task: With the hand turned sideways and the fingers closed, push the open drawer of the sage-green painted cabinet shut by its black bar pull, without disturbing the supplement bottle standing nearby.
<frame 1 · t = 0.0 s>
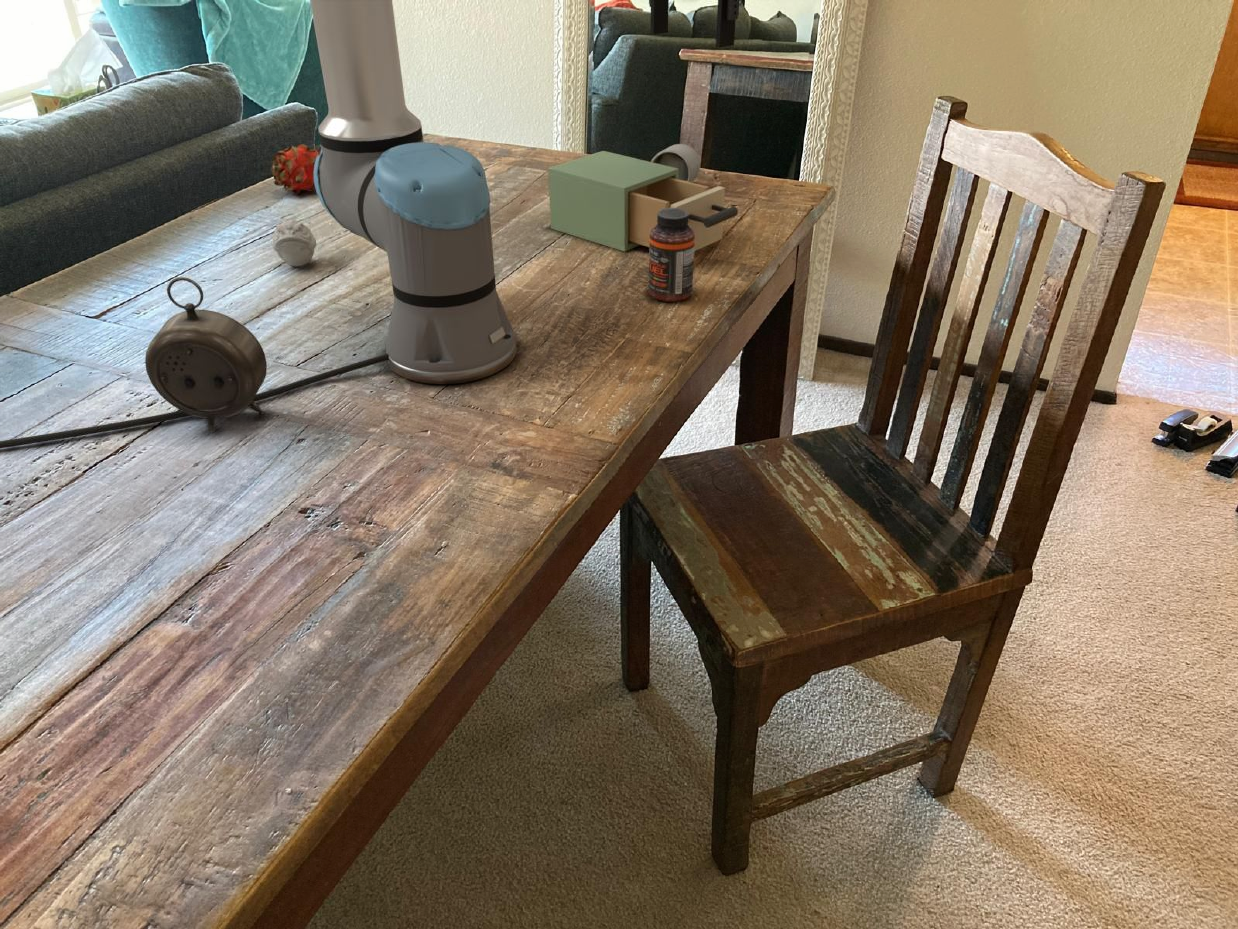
hand: (690, 39, 129), 28 cm above the table, tool pointing down, fingers open, 13 cm apart
drawer: (673, 215, 138), point 5 cm above the table, slide at 8.0 cm
cabinet: (613, 229, 147), on the table
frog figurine: (299, 267, 135), on the table
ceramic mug: (667, 190, 164), on the table
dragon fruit: (304, 190, 165), on the table
alarm clock: (221, 423, 98), on the table
supplement bottle: (670, 295, 125), on the table
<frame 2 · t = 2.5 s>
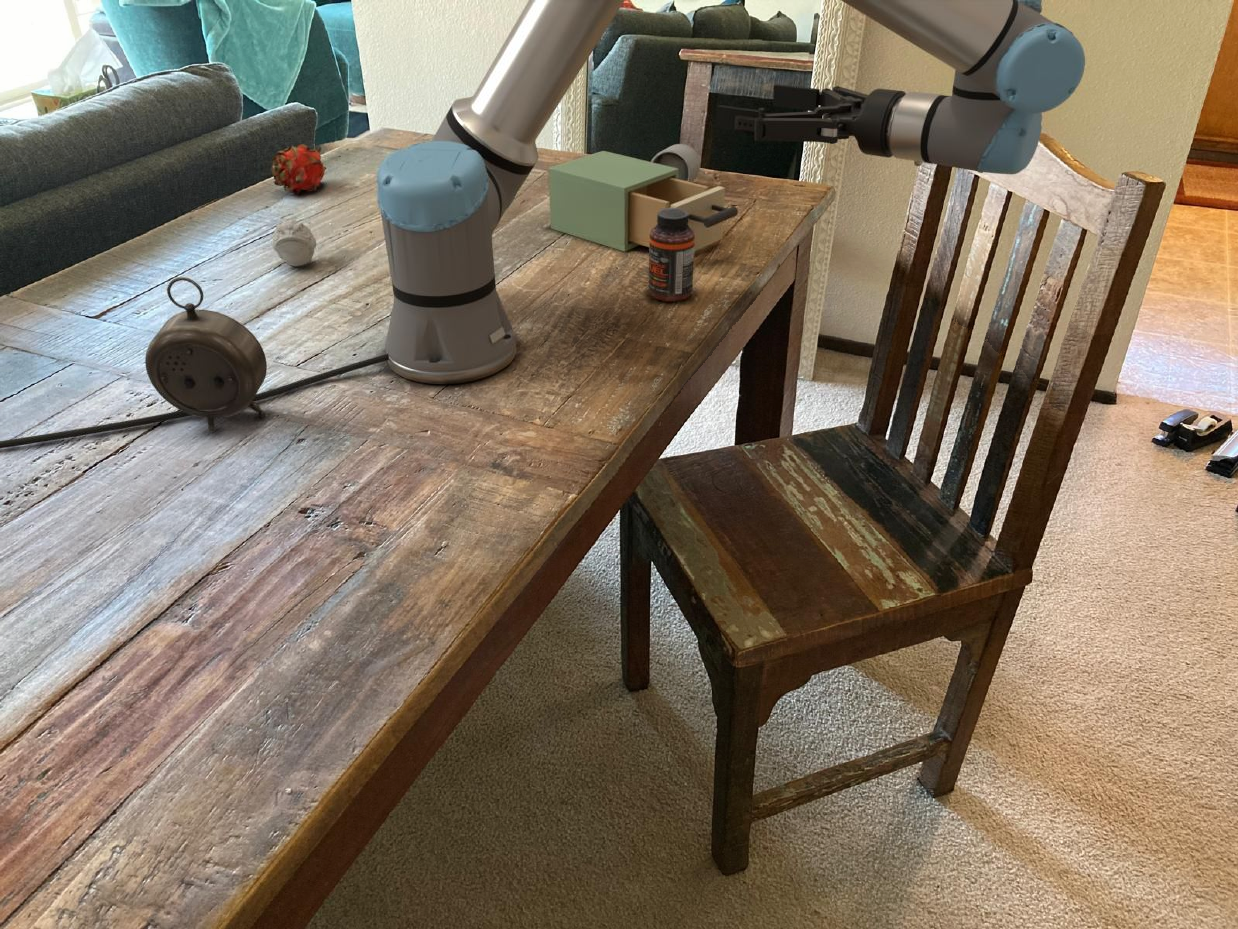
hand: (747, 105, 121), 22 cm above the table, tool horizontal, fingers open, 13 cm apart
nothing on the table moved.
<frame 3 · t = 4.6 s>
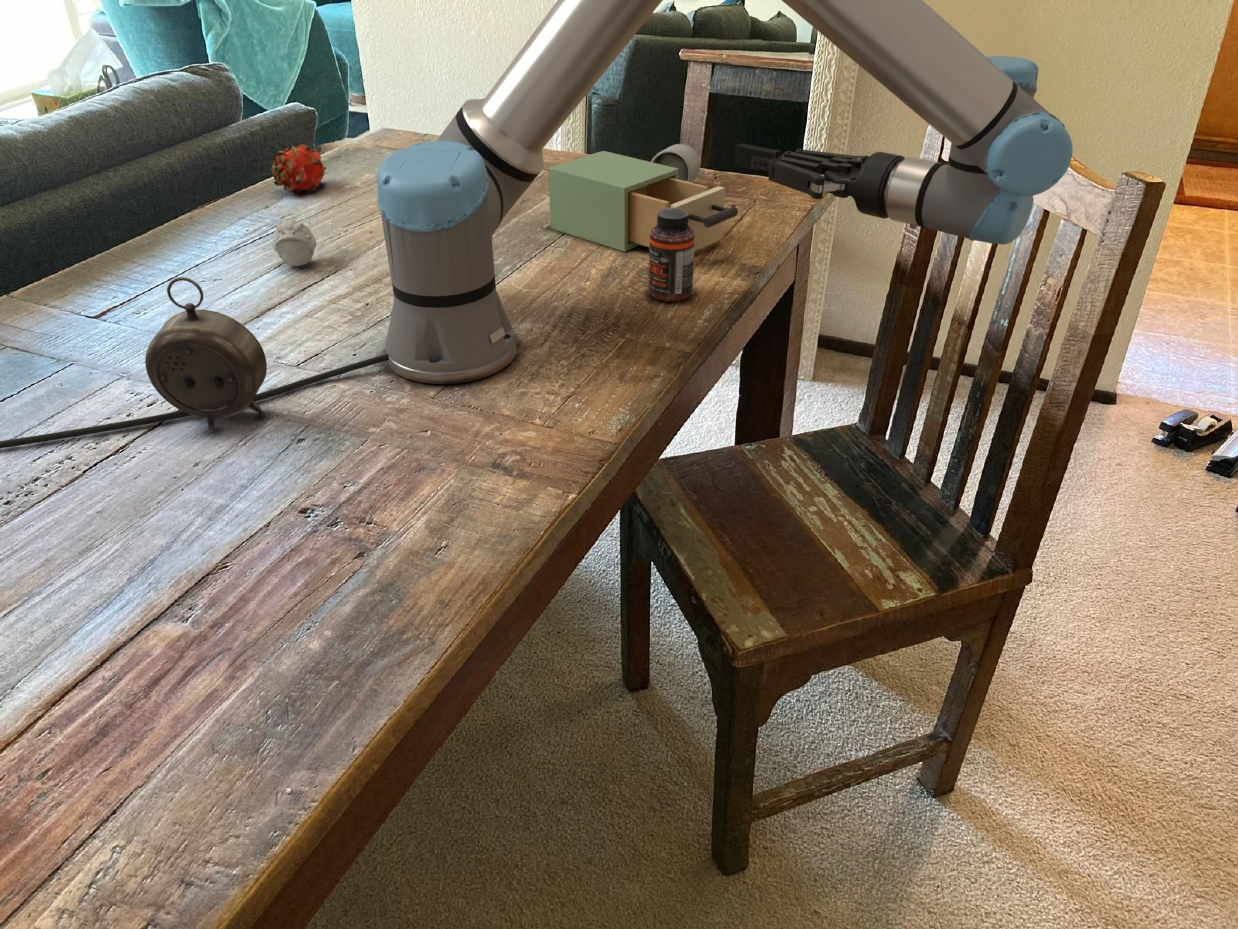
hand: (738, 154, 126), 16 cm above the table, tool horizontal, fingers closed
nothing on the table moved.
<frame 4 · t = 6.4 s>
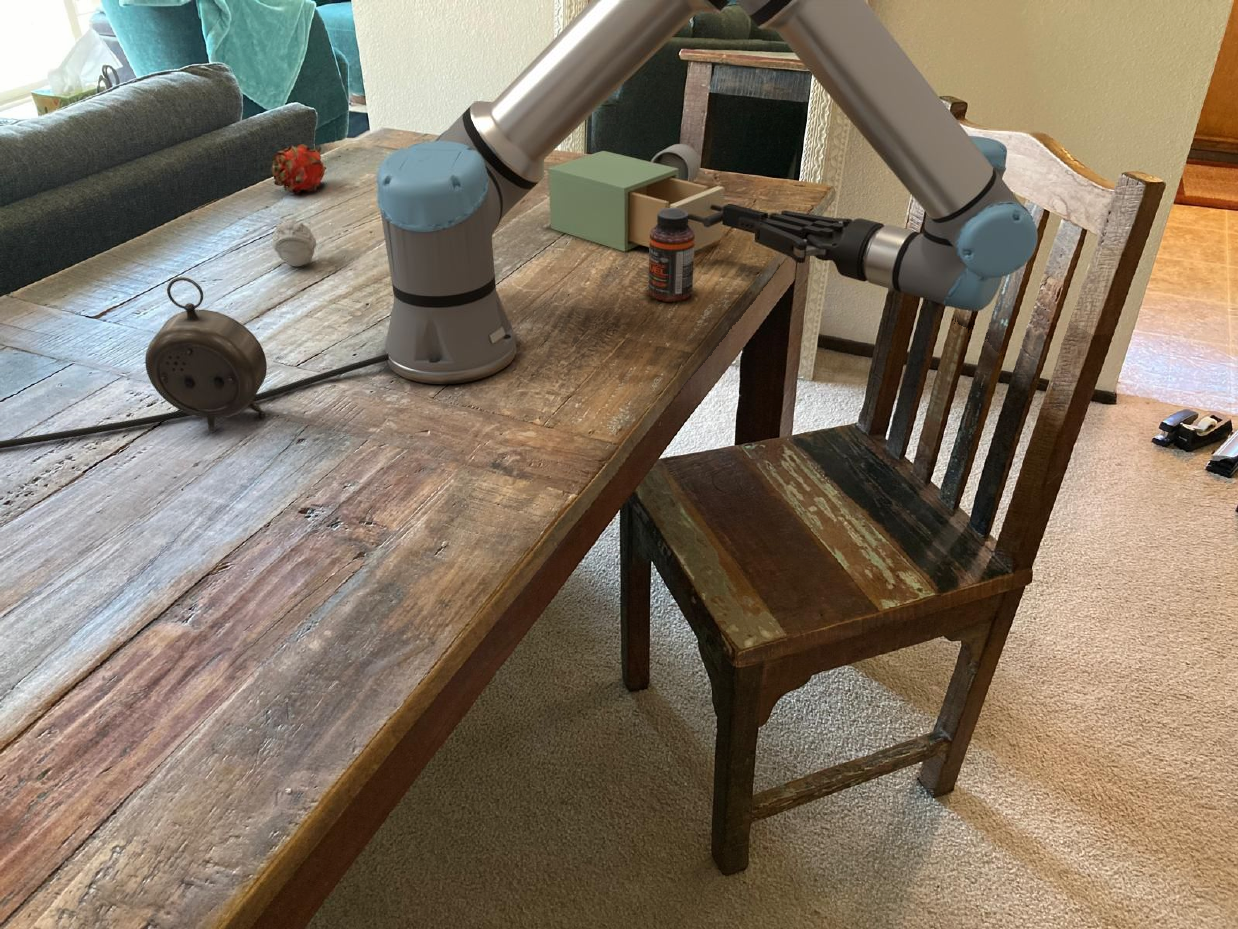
hand: (726, 214, 131), 7 cm above the table, tool horizontal, fingers closed
drawer: (672, 215, 138), point 5 cm above the table, slide at 7.9 cm, touching gripper
everything else where it was.
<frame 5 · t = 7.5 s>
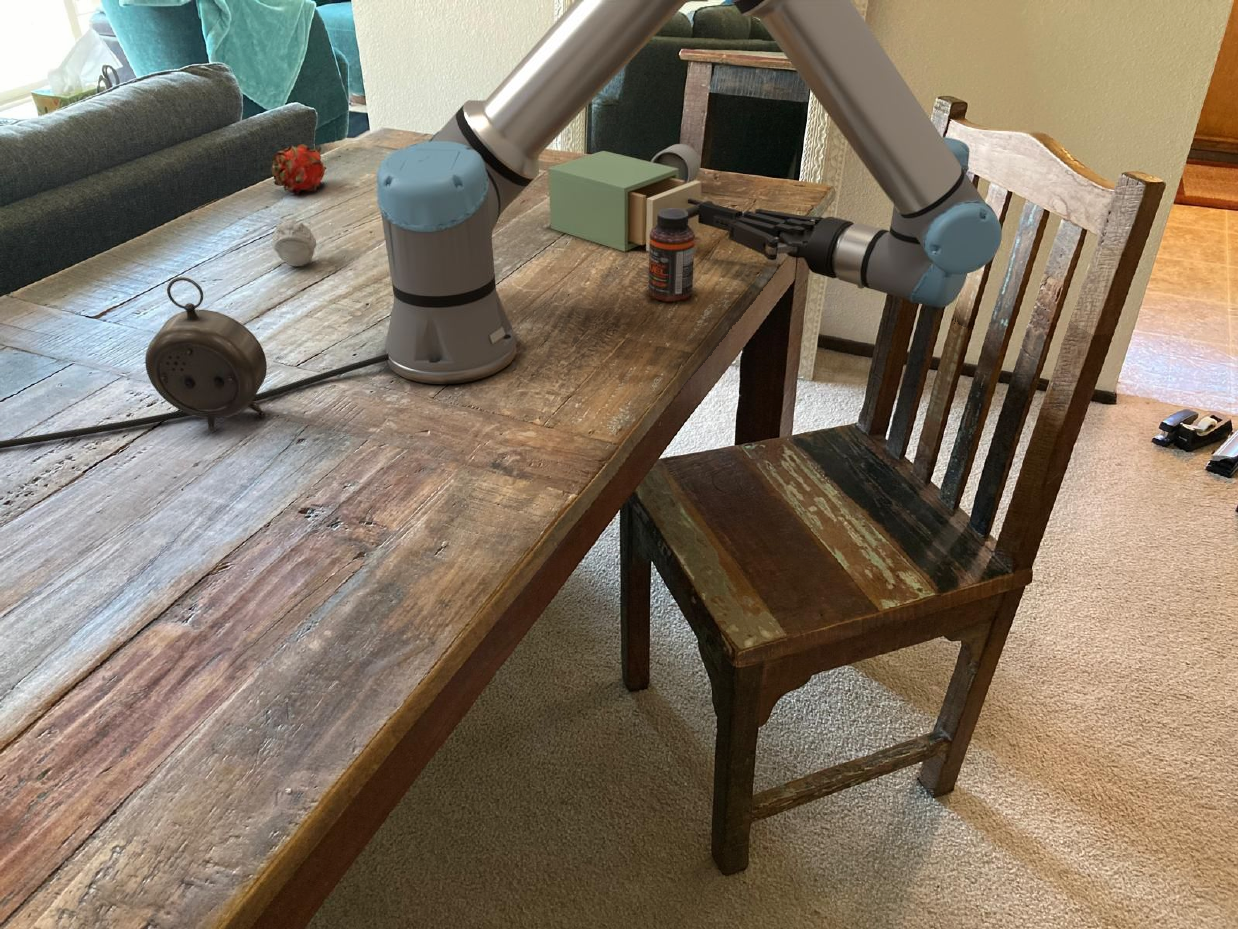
hand: (701, 212, 134), 6 cm above the table, tool horizontal, fingers closed
drawer: (650, 209, 140), point 5 cm above the table, slide at 3.6 cm, touching gripper
everything else where it was.
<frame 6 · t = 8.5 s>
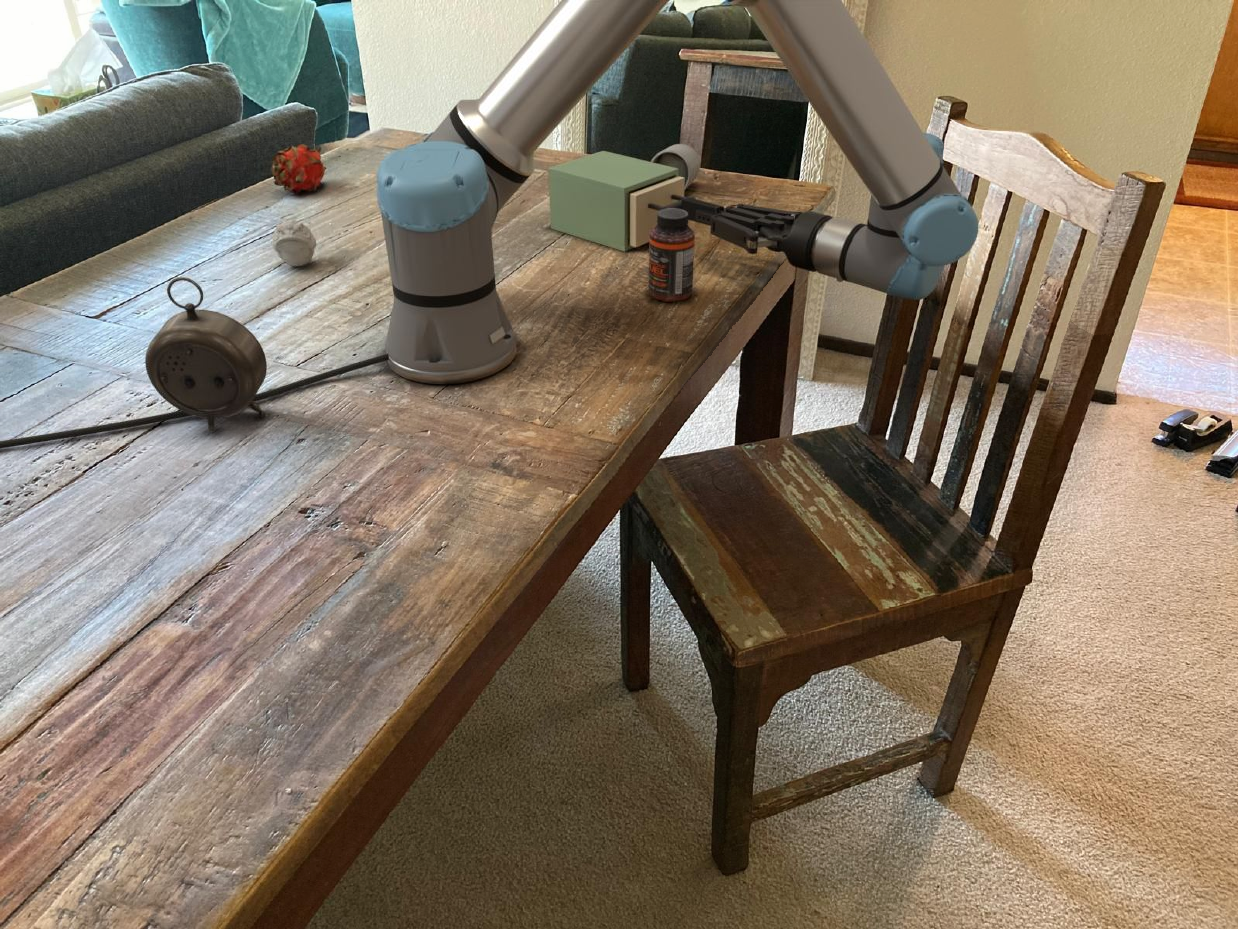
hand: (684, 207, 136), 6 cm above the table, tool horizontal, fingers closed
drawer: (634, 204, 142), point 5 cm above the table, slide at 0.5 cm, touching gripper
everything else where it was.
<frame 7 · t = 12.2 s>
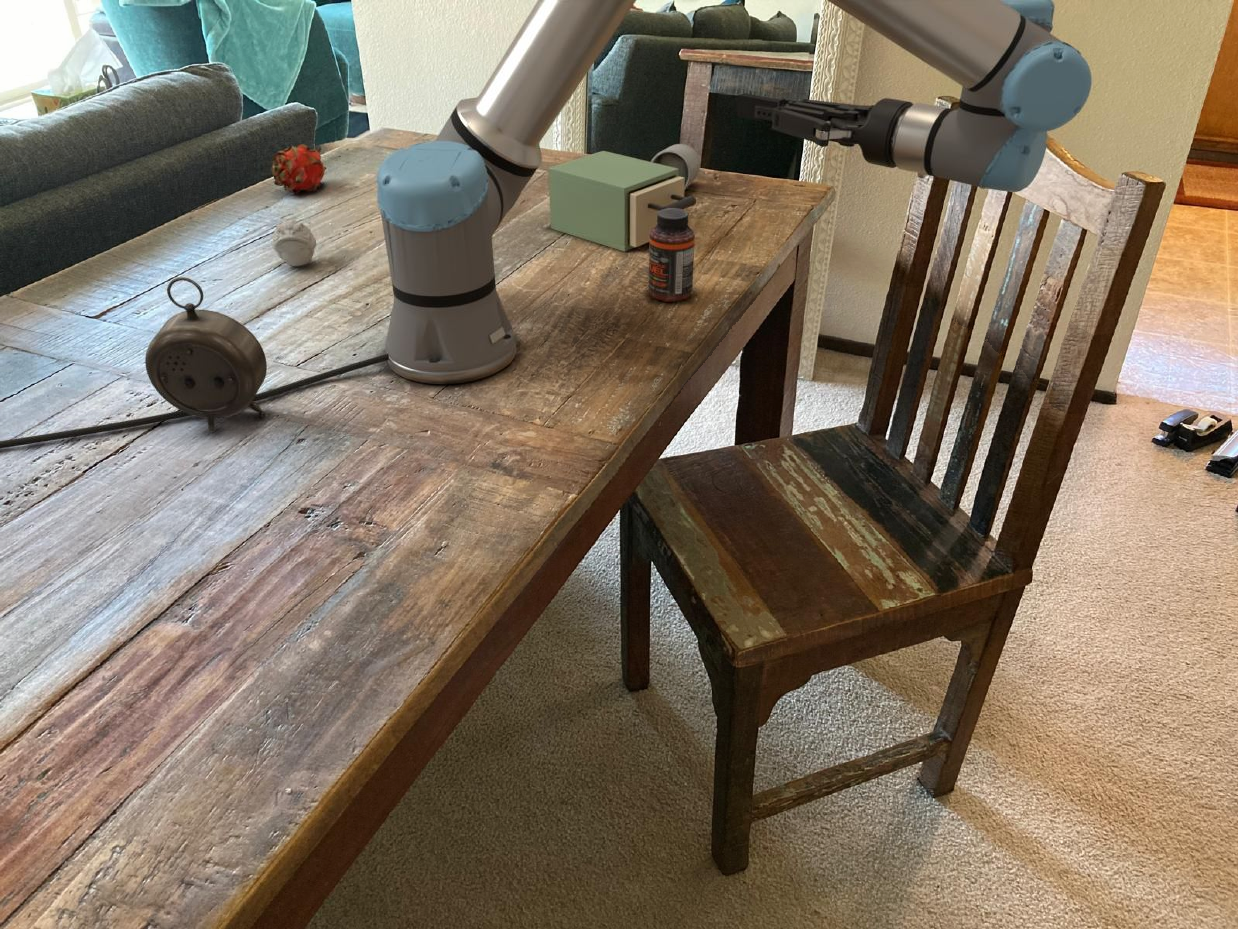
hand: (740, 104, 122), 22 cm above the table, tool horizontal, fingers closed
drawer: (634, 204, 142), point 5 cm above the table, slide at 0.5 cm
everything else where it was.
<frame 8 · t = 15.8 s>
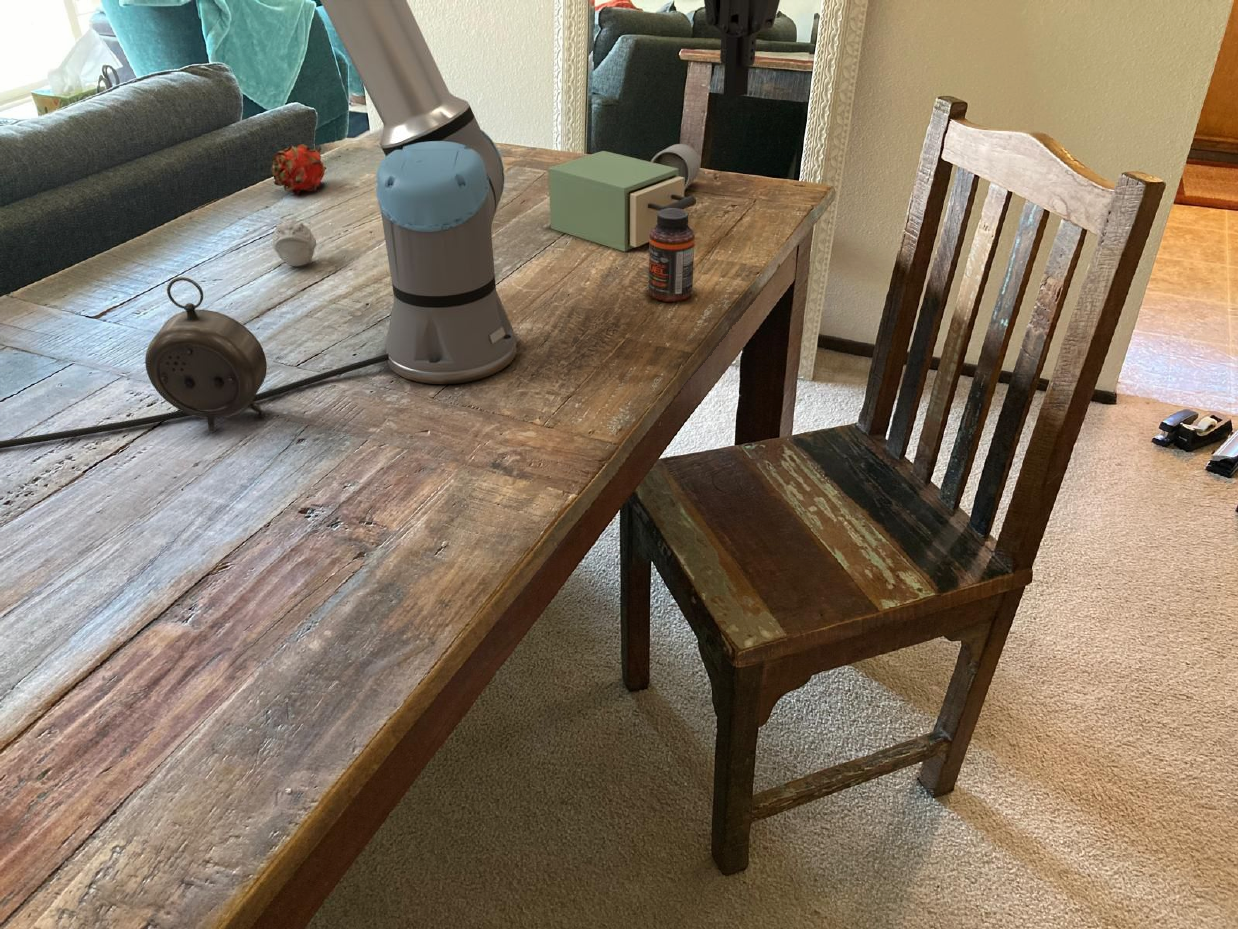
hand: (735, 94, 108), 26 cm above the table, tool pointing down, fingers closed
nothing on the table moved.
at the end: drawer slide at 0.5 cm; supplement bottle moved 0.2 cm from its start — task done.
